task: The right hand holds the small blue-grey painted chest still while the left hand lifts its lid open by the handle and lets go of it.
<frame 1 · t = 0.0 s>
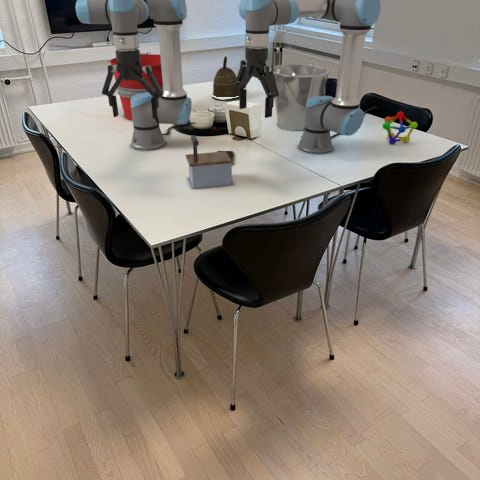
left hand: (135, 116, 150), 28 cm above the table, tool pointing down, fingers open, 13 cm apart
right hand: (255, 112, 155), 28 cm above the table, tool pointing down, fingers open, 13 cm apart
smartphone: (224, 158, 193), on the table
bucket: (295, 125, 233), on the table
lid: (207, 148, 165), point 14 cm above the table, hinge at 0.0°
bell: (226, 97, 281), on the table
chest: (210, 181, 172), on the table
bucket 2: (147, 114, 248), on the table
educational toy: (395, 143, 211), on the table
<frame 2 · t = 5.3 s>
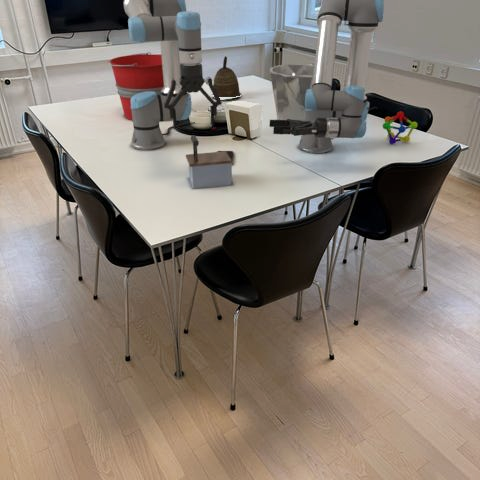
left hand: (194, 126, 159), 22 cm above the table, tool pointing down, fingers open, 13 cm apart
right hand: (271, 126, 172), 19 cm above the table, tool horizontal, fingers open, 13 cm apart
nothing on the table moved.
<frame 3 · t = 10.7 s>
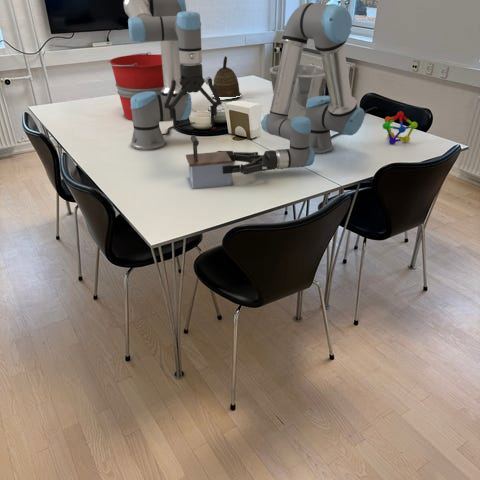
left hand: (194, 126, 159), 22 cm above the table, tool pointing down, fingers open, 13 cm apart
right hand: (220, 164, 170), 7 cm above the table, tool horizontal, fingers closed on chest, 10 cm apart
chest: (210, 181, 172), on the table, touching right hand
everything else where it was.
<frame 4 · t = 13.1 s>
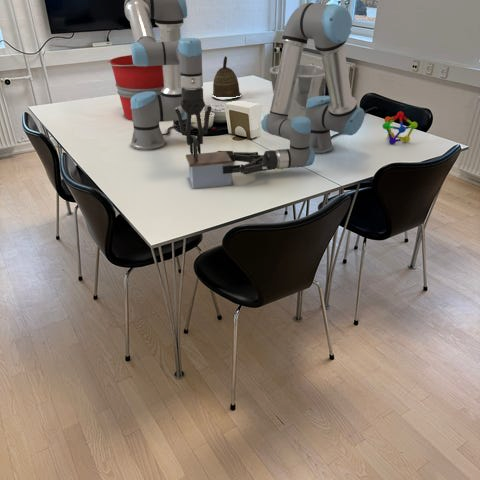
left hand: (195, 152, 165), 12 cm above the table, tool pointing down, fingers closed on lid, 2 cm apart
right hand: (220, 164, 170), 7 cm above the table, tool horizontal, fingers closed on chest, 10 cm apart
lid: (208, 148, 165), point 13 cm above the table, hinge at -0.1°, touching left hand
chest: (210, 181, 172), on the table, touching right hand
everything else where it was.
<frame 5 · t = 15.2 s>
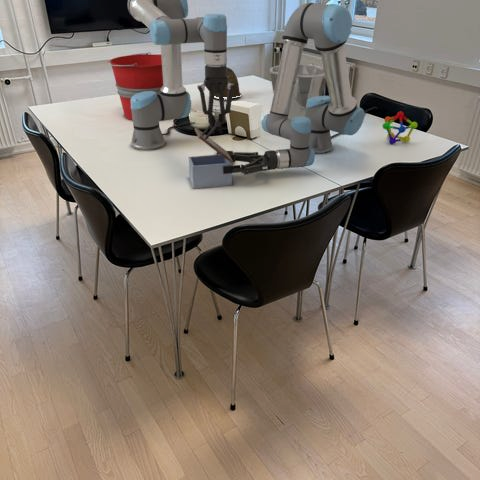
left hand: (216, 132, 163), 19 cm above the table, tool pointing down, fingers closed on lid, 2 cm apart
right hand: (220, 164, 170), 7 cm above the table, tool horizontal, fingers closed on chest, 10 cm apart
lid: (220, 136, 164), point 18 cm above the table, hinge at 41.3°, touching left hand
chest: (210, 181, 172), on the table, touching right hand
everything else where it was.
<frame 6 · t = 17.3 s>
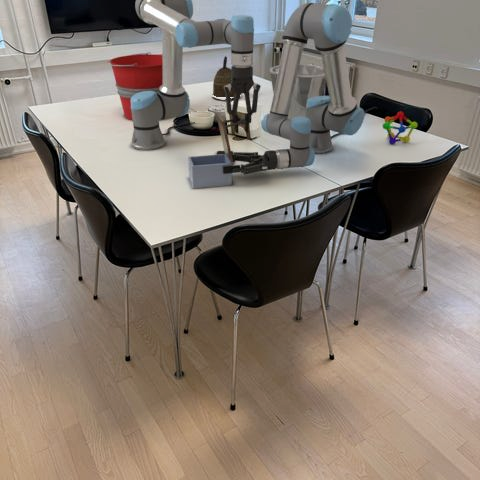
left hand: (241, 131, 165), 19 cm above the table, tool pointing down, fingers open, 3 cm apart
right hand: (220, 164, 170), 7 cm above the table, tool horizontal, fingers closed on chest, 10 cm apart
lid: (234, 134, 165), point 18 cm above the table, hinge at 78.2°
chest: (210, 181, 172), on the table, touching right hand
everything else where it was.
when the right hand's fingers open (7 cm above the table, at t = 21.0 s): chest stays where it is, on the table.
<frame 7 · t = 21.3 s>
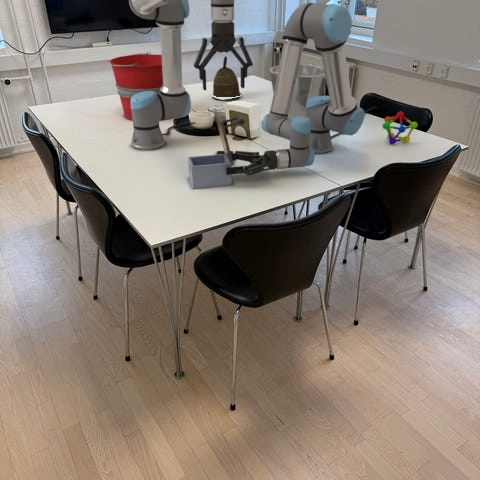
left hand: (223, 88, 155), 35 cm above the table, tool pointing down, fingers open, 13 cm apart
right hand: (222, 164, 170), 7 cm above the table, tool horizontal, fingers open, 13 cm apart
lid: (233, 134, 165), point 18 cm above the table, hinge at 77.1°
chest: (210, 181, 172), on the table
everything else where it was.
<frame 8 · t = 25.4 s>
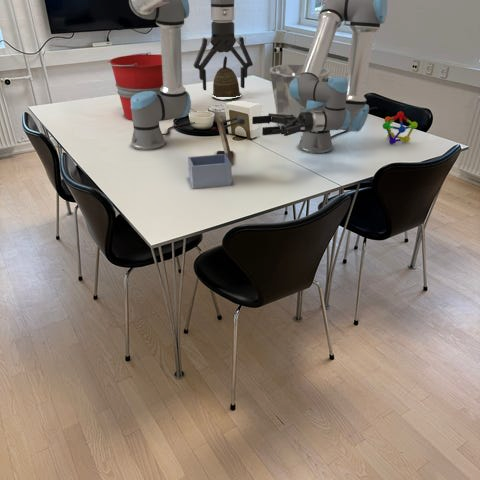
left hand: (223, 88, 155), 35 cm above the table, tool pointing down, fingers open, 13 cm apart
right hand: (257, 125, 165), 21 cm above the table, tool horizontal, fingers open, 13 cm apart
nothing on the table moved.
at the end: lid at +77° (first picture: +0°); the left hand is holding nothing; the right hand is holding nothing; chest tilted 0°; chest never tilted more than 1° during the clip; chest moved 0.1 cm from its start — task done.
